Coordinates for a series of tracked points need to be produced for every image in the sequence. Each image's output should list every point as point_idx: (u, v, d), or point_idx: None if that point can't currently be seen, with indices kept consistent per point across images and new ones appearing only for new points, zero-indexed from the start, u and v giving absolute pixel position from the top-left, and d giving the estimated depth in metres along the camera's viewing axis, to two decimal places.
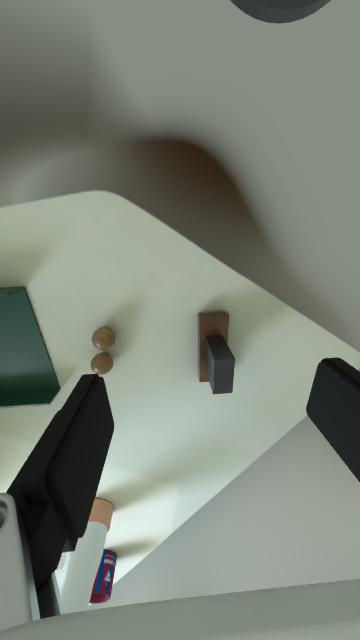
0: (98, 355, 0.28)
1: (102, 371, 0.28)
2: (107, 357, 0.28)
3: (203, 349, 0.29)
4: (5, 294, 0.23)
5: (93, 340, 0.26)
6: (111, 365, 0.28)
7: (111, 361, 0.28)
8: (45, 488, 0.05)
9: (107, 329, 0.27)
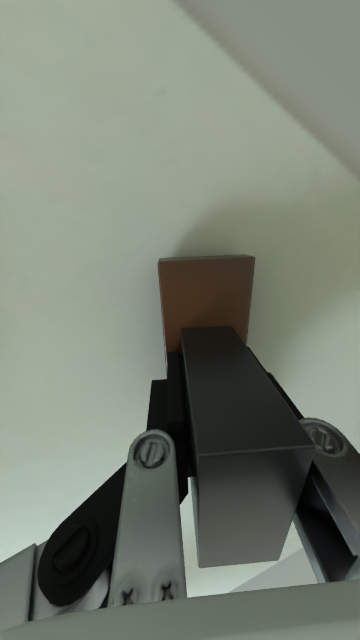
0: None
1: None
2: None
3: None
4: None
5: None
6: None
7: None
8: (183, 428, 0.06)
9: None
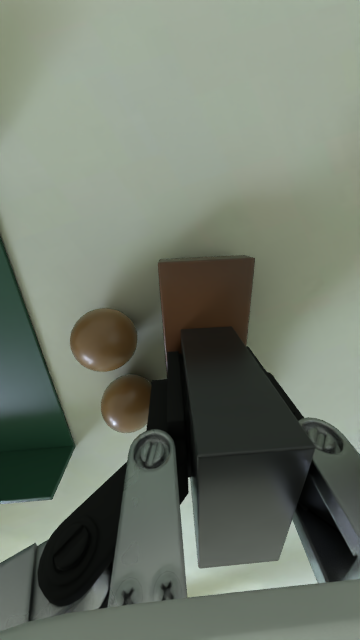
0: (126, 378, 0.11)
1: None
2: (110, 397, 0.10)
3: None
4: None
5: None
6: (106, 421, 0.10)
7: (106, 413, 0.10)
8: (183, 428, 0.06)
9: None
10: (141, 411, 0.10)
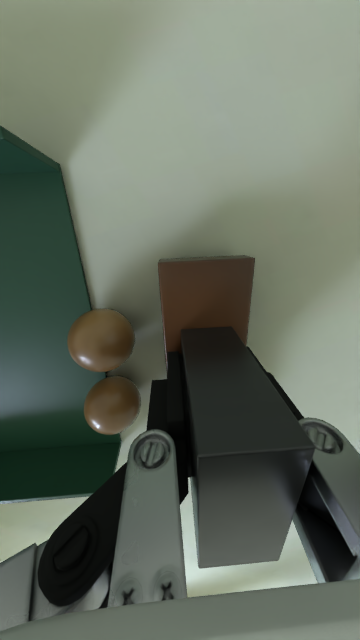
0: (108, 385, 0.10)
1: None
2: (120, 376, 0.12)
3: None
4: None
5: (94, 348, 0.08)
6: None
7: None
8: (183, 428, 0.06)
9: (110, 310, 0.10)
10: None
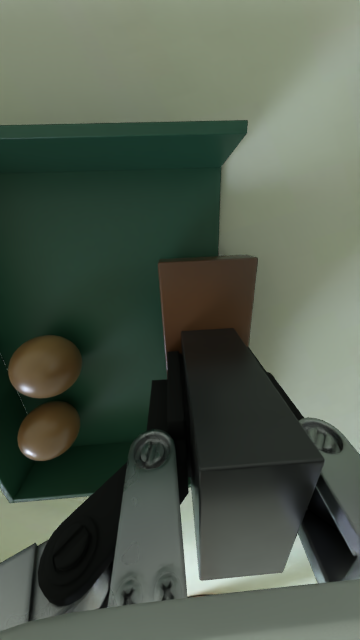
0: (39, 416, 0.11)
1: (71, 442, 0.11)
2: (64, 406, 0.11)
3: None
4: (242, 126, 0.06)
5: (39, 379, 0.08)
6: (78, 416, 0.12)
7: (75, 409, 0.12)
8: (183, 428, 0.06)
9: (55, 336, 0.10)
10: None
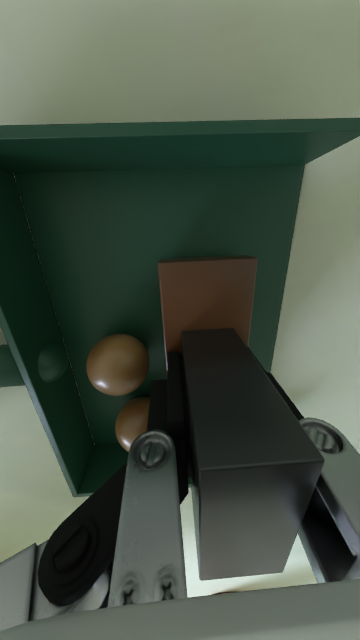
0: (146, 409, 0.11)
1: None
2: (142, 396, 0.12)
3: None
4: None
5: (118, 379, 0.09)
6: None
7: None
8: (183, 428, 0.06)
9: (124, 335, 0.10)
10: (117, 416, 0.11)
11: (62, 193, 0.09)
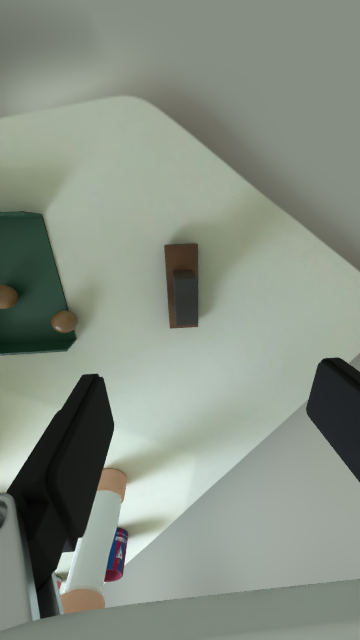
0: (60, 313, 0.26)
1: (74, 325, 0.27)
2: (69, 311, 0.27)
3: (171, 287, 0.26)
4: (23, 213, 0.20)
5: (16, 296, 0.25)
6: (75, 318, 0.28)
7: (73, 314, 0.28)
8: (45, 488, 0.05)
9: None
10: None
11: None
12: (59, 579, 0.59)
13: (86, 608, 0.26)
